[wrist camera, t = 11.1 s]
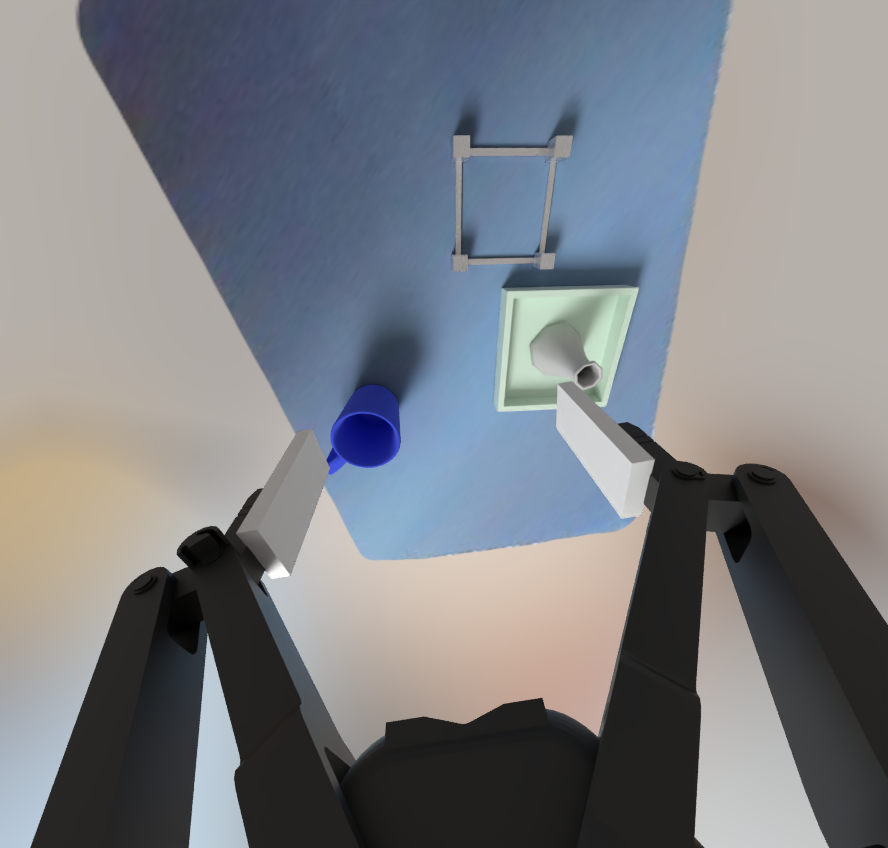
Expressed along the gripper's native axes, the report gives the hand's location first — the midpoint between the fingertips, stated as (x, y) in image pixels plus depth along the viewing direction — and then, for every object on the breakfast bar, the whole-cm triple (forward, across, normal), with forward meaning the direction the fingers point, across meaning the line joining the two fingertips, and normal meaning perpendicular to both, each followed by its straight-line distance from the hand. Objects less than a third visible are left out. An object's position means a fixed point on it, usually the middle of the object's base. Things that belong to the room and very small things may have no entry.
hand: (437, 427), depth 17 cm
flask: (+27, +17, -8) cm, 33 cm away
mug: (+27, -11, -12) cm, 32 cm away
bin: (+27, +17, -8) cm, 33 cm away
